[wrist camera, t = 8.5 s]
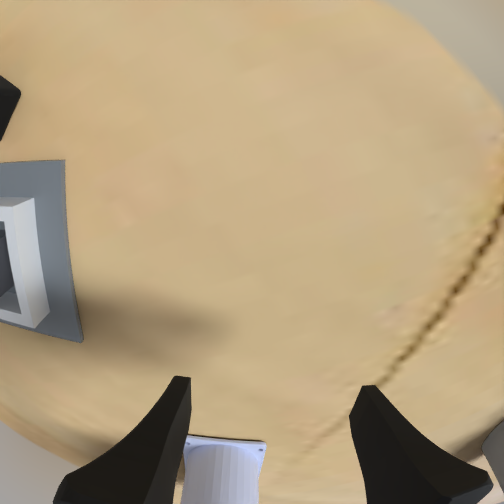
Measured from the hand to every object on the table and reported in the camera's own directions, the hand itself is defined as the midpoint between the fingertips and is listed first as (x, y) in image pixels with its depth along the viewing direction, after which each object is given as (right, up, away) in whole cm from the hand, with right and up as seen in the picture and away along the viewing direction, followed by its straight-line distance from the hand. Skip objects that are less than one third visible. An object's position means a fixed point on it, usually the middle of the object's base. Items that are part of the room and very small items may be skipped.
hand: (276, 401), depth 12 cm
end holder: (-21, +6, +8) cm, 23 cm away
